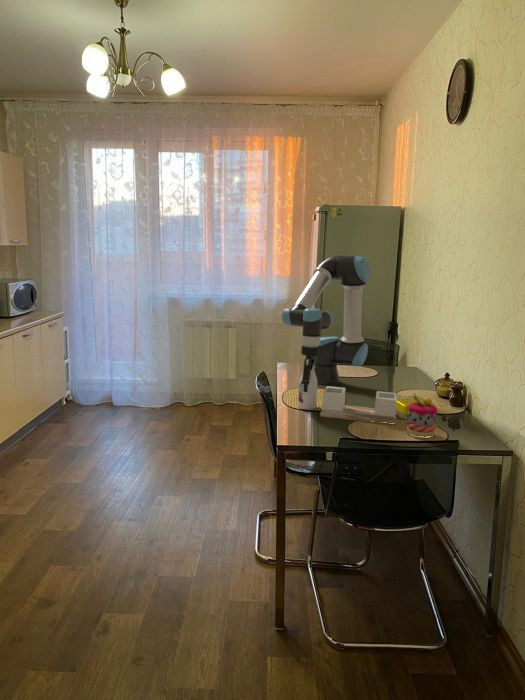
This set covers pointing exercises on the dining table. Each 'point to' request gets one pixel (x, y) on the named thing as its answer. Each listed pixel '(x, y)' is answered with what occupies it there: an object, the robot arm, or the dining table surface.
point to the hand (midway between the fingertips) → (307, 395)
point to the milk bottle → (312, 399)
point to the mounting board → (357, 414)
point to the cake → (421, 417)
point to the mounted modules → (336, 400)
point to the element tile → (406, 403)
